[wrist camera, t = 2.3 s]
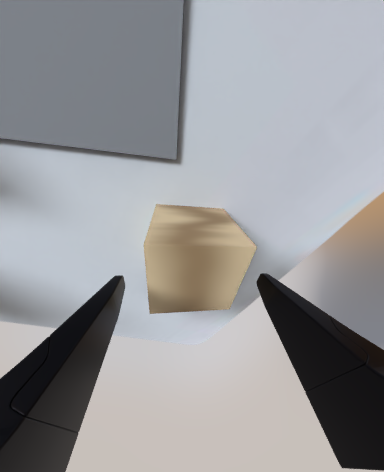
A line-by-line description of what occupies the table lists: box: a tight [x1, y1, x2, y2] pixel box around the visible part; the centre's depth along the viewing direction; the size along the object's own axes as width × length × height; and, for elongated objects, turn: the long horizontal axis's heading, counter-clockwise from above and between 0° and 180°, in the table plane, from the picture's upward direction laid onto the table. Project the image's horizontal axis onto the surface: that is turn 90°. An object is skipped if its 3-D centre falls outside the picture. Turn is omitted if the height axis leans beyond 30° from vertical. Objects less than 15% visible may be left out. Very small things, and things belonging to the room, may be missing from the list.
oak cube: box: [144, 204, 257, 314], centre depth 11 cm, size 6×6×6 cm
